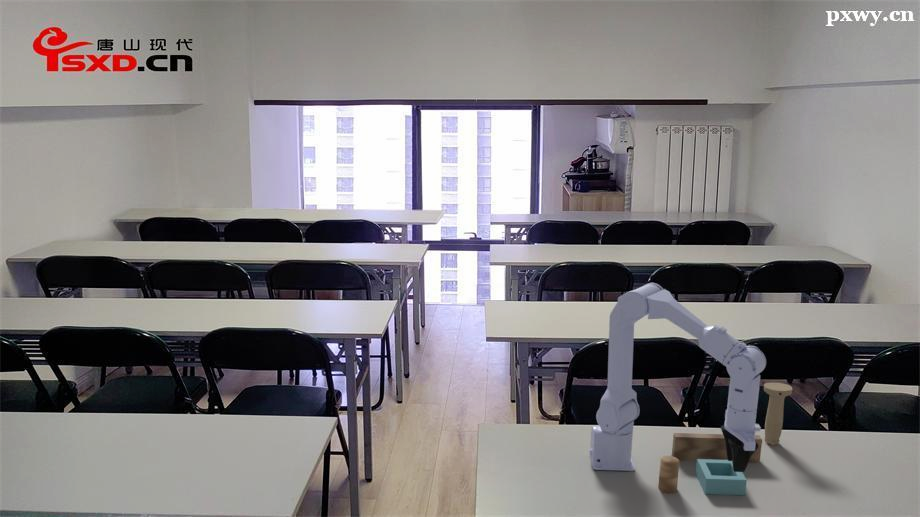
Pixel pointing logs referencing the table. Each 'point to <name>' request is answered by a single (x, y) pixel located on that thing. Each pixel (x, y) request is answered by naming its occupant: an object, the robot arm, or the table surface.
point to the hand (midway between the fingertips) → (735, 465)
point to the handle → (775, 411)
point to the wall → (705, 447)
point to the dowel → (668, 474)
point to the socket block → (720, 477)
